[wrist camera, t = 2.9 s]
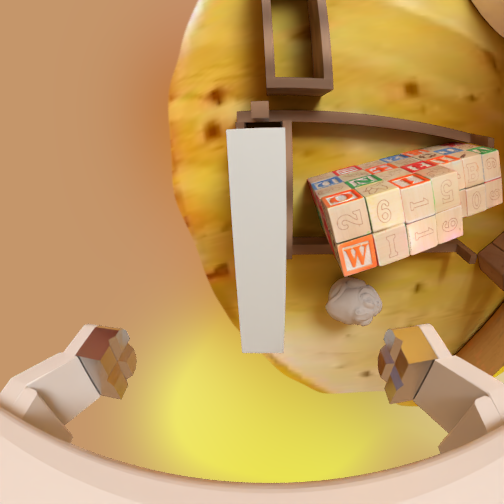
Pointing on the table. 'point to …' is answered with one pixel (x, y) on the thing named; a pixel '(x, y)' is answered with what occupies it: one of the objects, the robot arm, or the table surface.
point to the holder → (320, 55)
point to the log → (487, 345)
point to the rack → (286, 118)
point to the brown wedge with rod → (493, 261)
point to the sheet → (259, 234)
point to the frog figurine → (353, 301)
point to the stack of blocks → (404, 202)
